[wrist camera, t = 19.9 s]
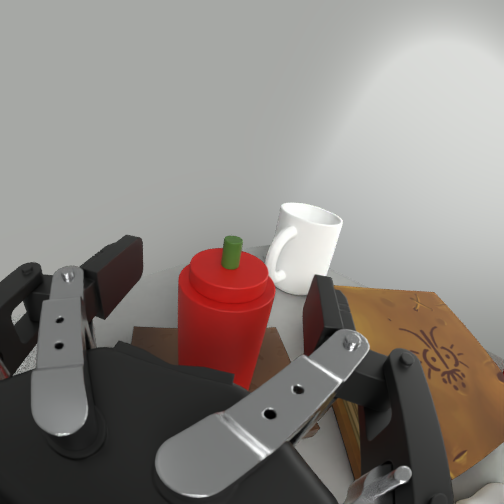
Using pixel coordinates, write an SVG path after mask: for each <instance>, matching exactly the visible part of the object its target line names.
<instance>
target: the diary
mask: <svg viewBox="0 0 504 504" xmlns="http://www.w3.org/2000/svg"><path fill="white" fill-rule="evenodd" d="M334 289H337V290H341V292H342V293H343V294H344V295H345V296H346V297H347V300H348V304H349V307H350V311H351V312H350V313H351V314H352V317H353V321H354V324H355V328H356V331H357V332H359V333H360V334H362V335H363V336H364V337H365V338H366V339H367V341H368V342H369V346H370V348H369V349H371V350H372V351H375V352H378V353H380V354H383V355H386V356H389V354H390V353H391V351H392V350H394V349H396V348H403V349H406V350H409V351H411V352H412V353H414V354H415V355H416V356H417V357H418V359H419V360H420V362H421V365H422V368H423V371H424V374H425V377H426V380H427V383H428V386H429V389H430V392H431V395H432V399H433V402H434V405H435V409H436V412H437V416H438V420H439V424H440V428H441V432H442V436H443V440H444V444H445V449H446V454H447V459H448V464H449V470H450V476H451V480H453V479H454V478H456V477H457V476H459V475H460V474H462V473H463V472H465V471H466V470H468V469H469V468H471V467H472V466H474V465H475V464H476V463H478V462H479V461H480V460H482V459H483V458H484V457H486V456H487V455H488V454H490V453H491V452H492V451H493V450H494V449H496V448H497V447H498V446H499V445H500V444H502V443H503V442H504V374H503V373H502V372H501V370H500V369H499V368H498V366H497V365H496V364H495V362H494V361H493V360H492V358H491V357H490V356H489V354H488V353H487V352H486V351H485V349H484V348H483V347H482V346H481V345H480V343H479V342H478V341H477V339H476V338H475V337H474V336H473V335H472V334H471V332H470V331H469V330H468V329H467V328H466V327H465V325H464V324H463V323H462V322H461V321H460V320H459V319H458V318H457V316H456V315H455V314H454V313H453V312H452V311H451V310H450V309H449V308H448V306H447V305H446V304H445V303H444V302H443V301H442V300H441V299H440V298H439V297H438V296H437V295H436V294H435V293H434V292H422V291H405V290H390V289H374V288H362V287H349V286H336V285H334ZM333 409H334V412H335V415H336V418H337V421H338V424H339V428H340V431H341V434H342V437H343V441H344V444H345V447H346V451H347V454H348V457H349V461H350V464H351V467H352V471H353V474H354V478H355V480H357V479H358V478H360V477H361V456H360V434H359V419H358V407H357V404H354V403H352V402H349V401H346V400H343V399H340V398H338V399H337V400H336V401H335V403H334V404H333Z"/></svg>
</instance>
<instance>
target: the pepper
mask: <svg viewBox="0 0 504 504" xmlns="http://www.w3.org/2000/svg"><path fill="white" fill-rule="evenodd" d="M242 245H243V240H242V239H241V238H240V237H237V236H227V237H225V239H224V244H223V248H215V249H208V250H205V251H201V252H199V253H198V254H196V255H195V256H194V257H193V258H192V260H191V262H190V264H189V265H187V266H186V267H185V268H184V269H183V270H182V271H181V273H180V275H179V281H178V364H179V365H184V366H200V367H207V368H211V369H215V370H220V371H224V372H229V373H233V374H235V376H234V381H233V383H235V384H237V385H240V386H241V387H243V388H245V389H246V390H249V387H250V383H251V380H252V376H253V373H254V369H255V366H256V363H257V359H258V355H259V352H260V348H261V345H262V341H263V338H264V334H265V330H266V327H267V323H268V319H269V315H270V312H271V308H272V304H273V300H274V296H275V292H276V291H275V285H274V282H273V280H272V279H271V278H270V277H269V272H268V268H267V266H266V265H265V264H264V263H263V262H262V261H261V260H260V259H258V258H257V257H255V256H253V255H251V254H249V253H246V252H243V251H242Z"/></svg>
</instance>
